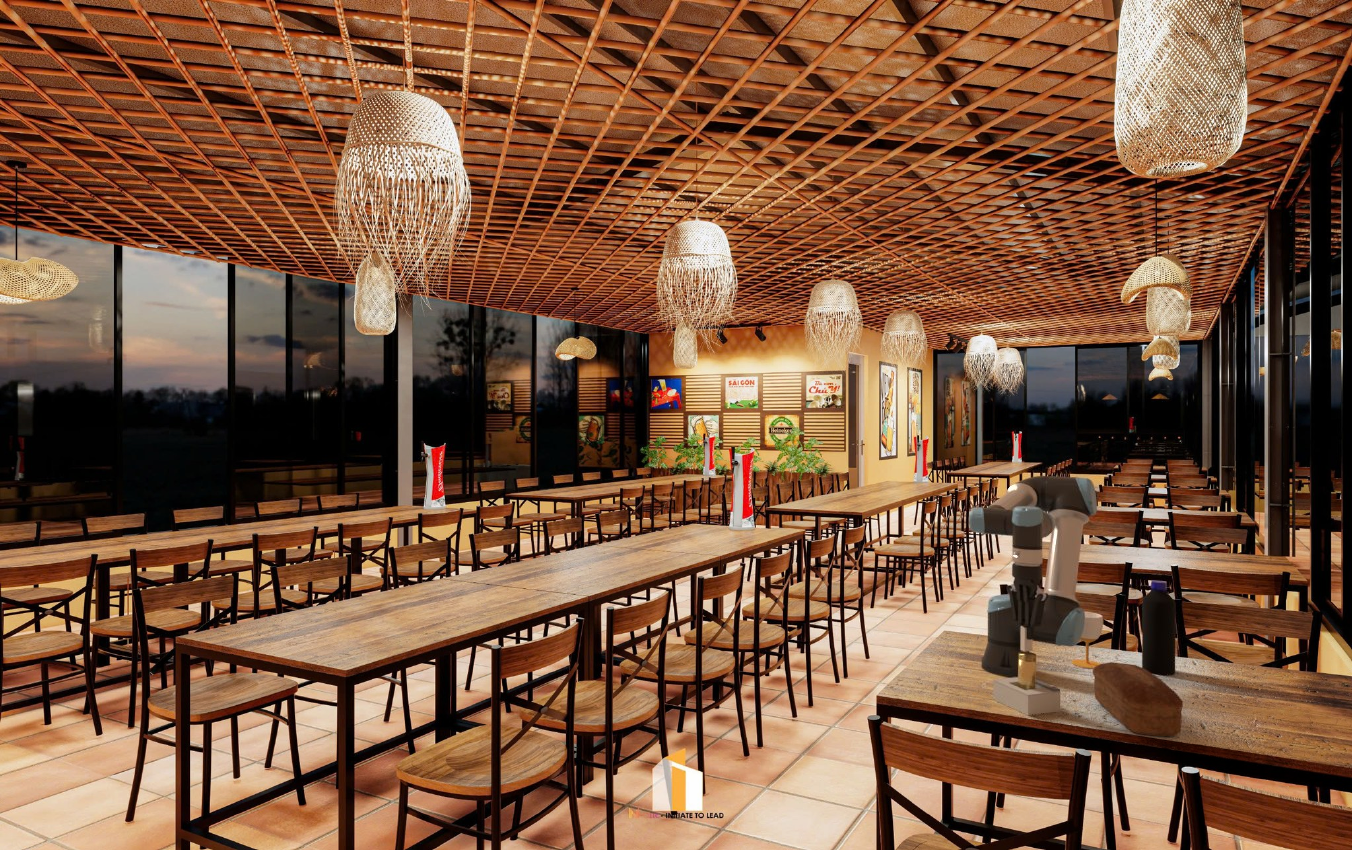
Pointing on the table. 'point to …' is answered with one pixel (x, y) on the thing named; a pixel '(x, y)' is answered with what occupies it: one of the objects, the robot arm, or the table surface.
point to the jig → (1027, 696)
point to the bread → (1138, 699)
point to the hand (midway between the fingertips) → (1026, 650)
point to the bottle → (1158, 630)
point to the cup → (1090, 637)
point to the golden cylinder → (1026, 670)
